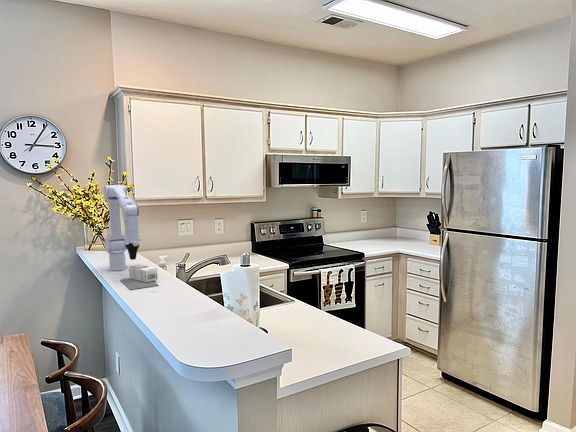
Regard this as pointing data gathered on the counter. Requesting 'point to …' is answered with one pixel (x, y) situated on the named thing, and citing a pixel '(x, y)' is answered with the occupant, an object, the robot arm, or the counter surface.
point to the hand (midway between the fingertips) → (133, 259)
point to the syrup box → (143, 273)
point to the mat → (137, 284)
